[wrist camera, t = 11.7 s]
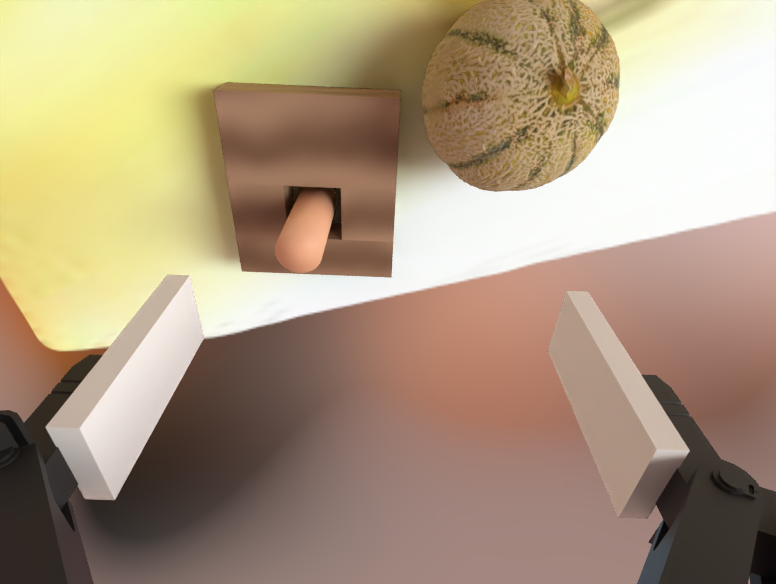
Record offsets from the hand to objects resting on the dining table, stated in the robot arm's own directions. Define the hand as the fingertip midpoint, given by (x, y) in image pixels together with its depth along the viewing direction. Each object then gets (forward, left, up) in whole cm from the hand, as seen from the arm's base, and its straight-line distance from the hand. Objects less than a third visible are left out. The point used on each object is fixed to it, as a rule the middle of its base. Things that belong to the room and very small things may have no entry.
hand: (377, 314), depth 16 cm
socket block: (+7, -7, -33) cm, 34 cm away
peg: (+9, -7, -33) cm, 35 cm away
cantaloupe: (-3, +10, -33) cm, 35 cm away
